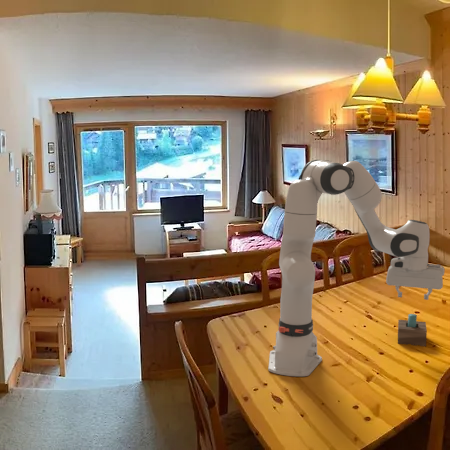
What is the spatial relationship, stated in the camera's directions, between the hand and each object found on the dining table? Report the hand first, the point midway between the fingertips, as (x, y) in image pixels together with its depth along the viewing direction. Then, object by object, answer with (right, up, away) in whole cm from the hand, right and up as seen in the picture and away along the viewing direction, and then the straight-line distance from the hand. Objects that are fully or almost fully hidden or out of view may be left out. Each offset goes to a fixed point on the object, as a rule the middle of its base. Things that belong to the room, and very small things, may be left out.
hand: (412, 298), depth 202 cm
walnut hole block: (+1, -17, +3) cm, 17 cm away
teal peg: (0, -17, +3) cm, 17 cm away
